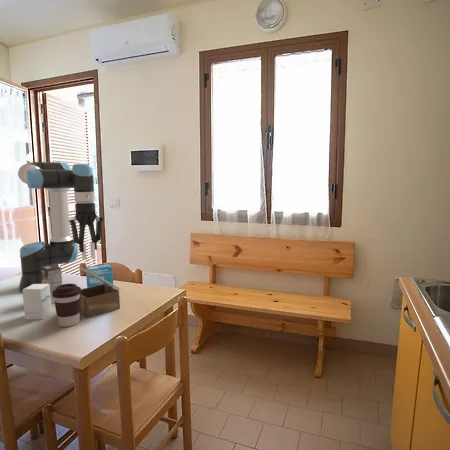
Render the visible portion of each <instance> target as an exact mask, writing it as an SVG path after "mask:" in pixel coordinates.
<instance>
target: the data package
mask: <svg viewBox="0 0 450 450" xmlns="http://www.w3.org/2000/svg"><path fill="white" fill-rule="evenodd" d="M85 269H86V270H88V271H90V272H92V273H94V274H96V275H98V276H100V277H101V278H103V279H105V280H106V281H108V282H110V283H112V284H113V285H114V274H113V273H114V272H113V267H112V266H111V265H110V264H103V265H95V266H90V267H89V266H88V267H87V268H85ZM85 277H86V278H85V279H86V288H88V287H93V286H97V285H101V284H105V283H103V282H102V281H100V280H98V279H96V278H95V277H93V276H91V275H89V274H88V273H86V272H85ZM106 285H107V284H106ZM108 286H109V285H108ZM110 287H111V286H110ZM112 288H114V287H112Z"/></svg>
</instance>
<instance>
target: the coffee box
mask: <svg viewBox="0 0 450 450" xmlns="http://www.w3.org/2000/svg"><path fill="white" fill-rule="evenodd" d="M40 271H41V282H42V284H50V295H51V305H52V304H54V305H55V298H54V297H53V296H52V292H53V291H54V290H56V288H57V287H58V286H60V285H63V277H62V267H60V266H59V265H55V264H52V265H47V266H42V267H40Z"/></svg>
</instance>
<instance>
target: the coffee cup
mask: <svg viewBox="0 0 450 450" xmlns="http://www.w3.org/2000/svg"><path fill="white" fill-rule="evenodd" d="M81 289H82V288H81V287H80V286H78V285H77V284H75V283H64V284H63V283H62V285H60V286H58V287H57V288H56V290H54V291H53V292H52V296H53V297H54V298H55V303H54V306H55V312H56V313H55V314H56V317H57V321H58V325H59V326H60V327H61V328H68V327H69V328H70V327H73V326H76V325H78V324H79V323H80V320H81V319H80V318H81V317H80V315H81V313H80V293H81Z"/></svg>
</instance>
